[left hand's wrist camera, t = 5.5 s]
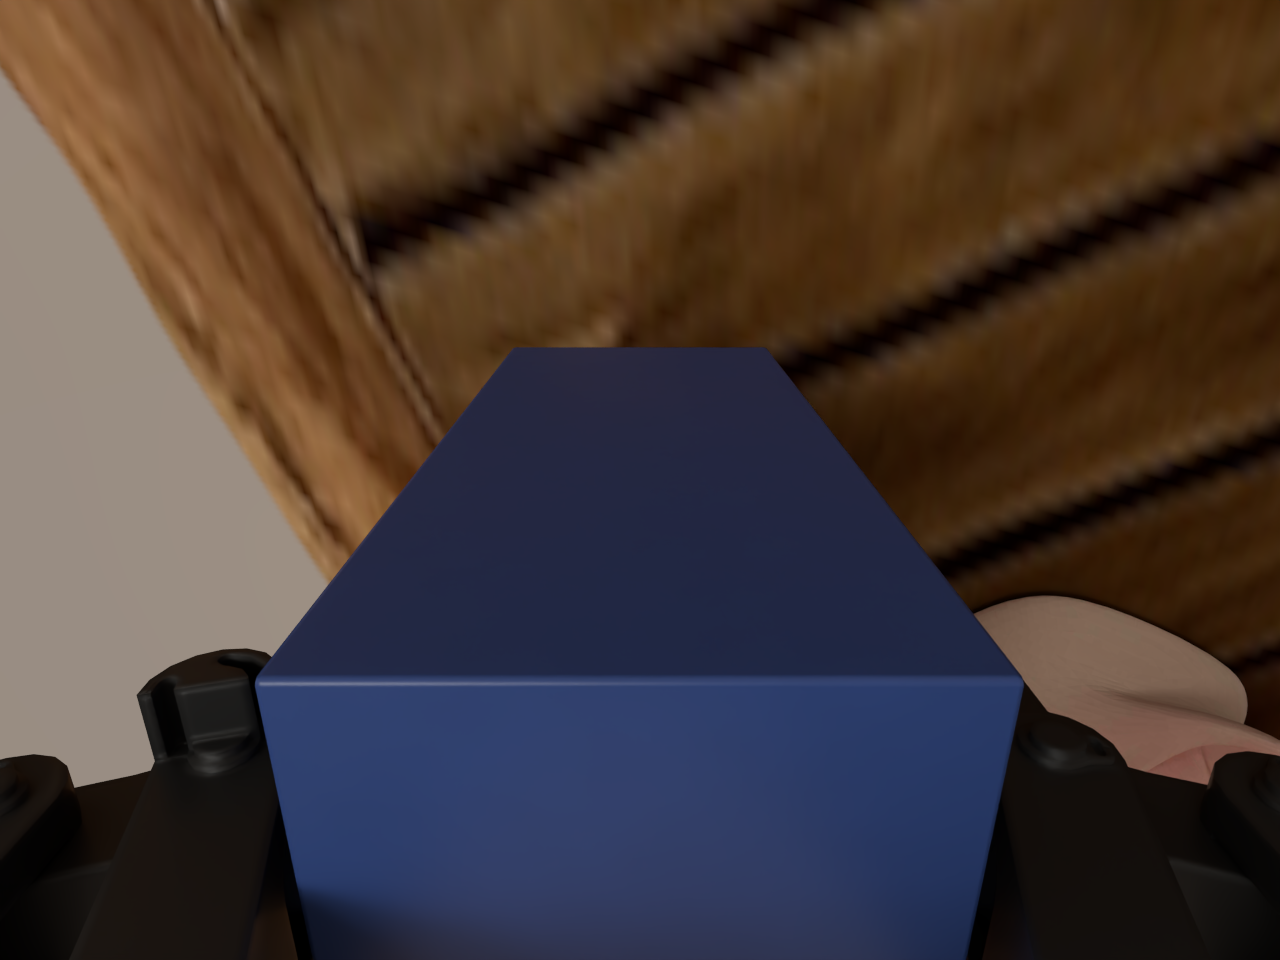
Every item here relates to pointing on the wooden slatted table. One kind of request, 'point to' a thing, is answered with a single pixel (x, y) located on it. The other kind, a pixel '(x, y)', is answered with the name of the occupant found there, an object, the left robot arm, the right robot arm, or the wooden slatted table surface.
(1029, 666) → the anatomical model
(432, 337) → the wooden slatted table surface
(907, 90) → the wooden slatted table surface
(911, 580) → the block
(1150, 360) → the wooden slatted table surface
